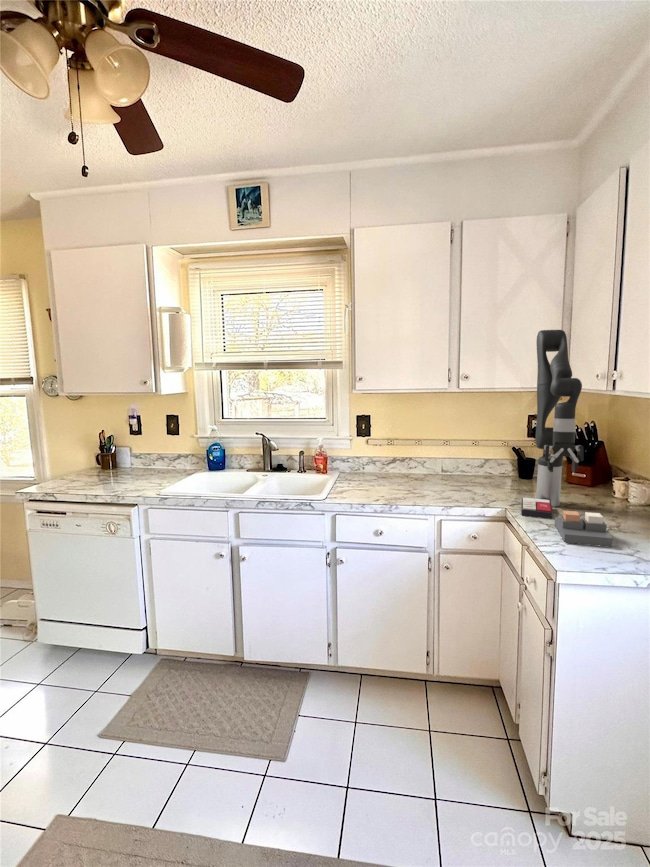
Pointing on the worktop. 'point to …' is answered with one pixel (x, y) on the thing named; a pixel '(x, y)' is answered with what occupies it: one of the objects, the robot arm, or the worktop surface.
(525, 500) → the calculator
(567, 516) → the peach key
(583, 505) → the worktop surface
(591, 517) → the cream key
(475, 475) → the worktop surface
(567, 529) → the push button base
